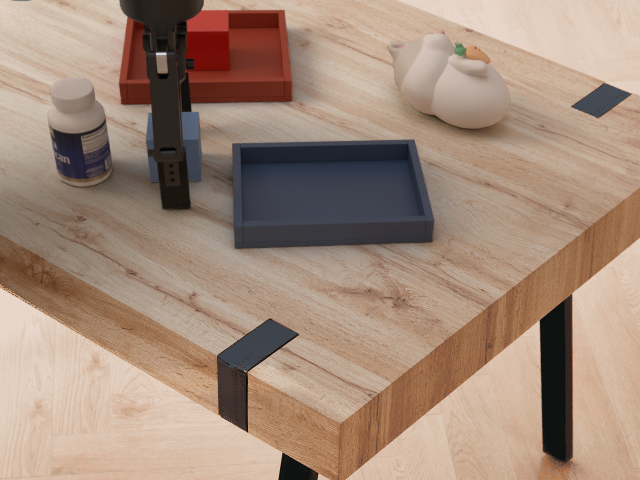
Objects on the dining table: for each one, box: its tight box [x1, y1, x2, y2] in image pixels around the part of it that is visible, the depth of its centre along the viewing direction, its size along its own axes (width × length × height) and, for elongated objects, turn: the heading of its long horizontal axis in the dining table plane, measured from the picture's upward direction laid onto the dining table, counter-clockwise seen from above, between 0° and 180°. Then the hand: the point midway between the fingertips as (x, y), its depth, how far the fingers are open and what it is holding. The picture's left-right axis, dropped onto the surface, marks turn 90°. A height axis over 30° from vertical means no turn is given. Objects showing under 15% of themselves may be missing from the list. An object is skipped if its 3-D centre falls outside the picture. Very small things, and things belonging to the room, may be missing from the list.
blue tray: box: [231, 138, 435, 249], centre depth 105 cm, size 19×14×3 cm
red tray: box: [118, 9, 293, 105], centre depth 124 cm, size 19×17×3 cm
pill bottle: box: [47, 76, 113, 188], centre depth 104 cm, size 5×5×10 cm
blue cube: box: [145, 111, 203, 183], centre depth 107 cm, size 5×5×5 cm
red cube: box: [186, 9, 230, 71], centre depth 123 cm, size 5×5×5 cm
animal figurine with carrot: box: [386, 29, 511, 130], centre depth 116 cm, size 10×8×15 cm
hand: (178, 166), depth 109 cm, fingers open, 13 cm apart
